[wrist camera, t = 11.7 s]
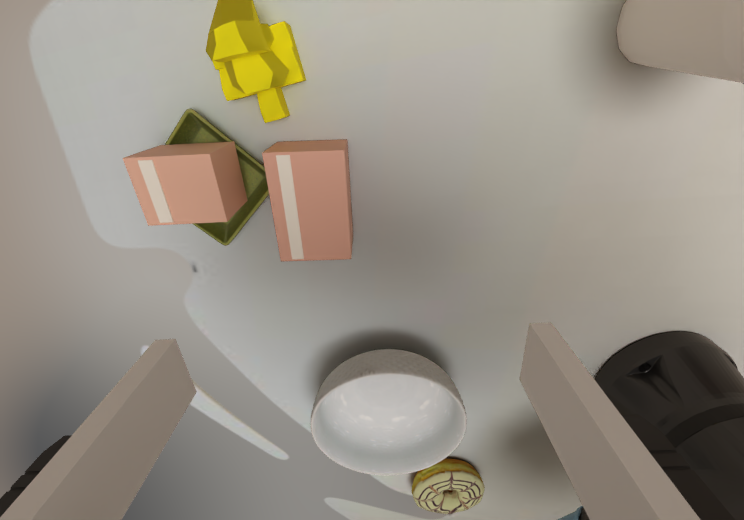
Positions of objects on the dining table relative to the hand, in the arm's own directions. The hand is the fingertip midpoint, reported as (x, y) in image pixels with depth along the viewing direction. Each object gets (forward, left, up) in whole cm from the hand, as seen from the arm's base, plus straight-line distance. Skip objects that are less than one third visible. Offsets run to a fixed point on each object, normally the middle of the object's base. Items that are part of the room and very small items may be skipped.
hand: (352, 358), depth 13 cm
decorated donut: (-45, -11, -22) cm, 51 cm away
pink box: (+3, +13, -20) cm, 24 cm away
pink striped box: (0, +4, -21) cm, 21 cm away
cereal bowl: (-24, -2, -21) cm, 32 cm away
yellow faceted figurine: (+11, +7, -22) cm, 25 cm away
